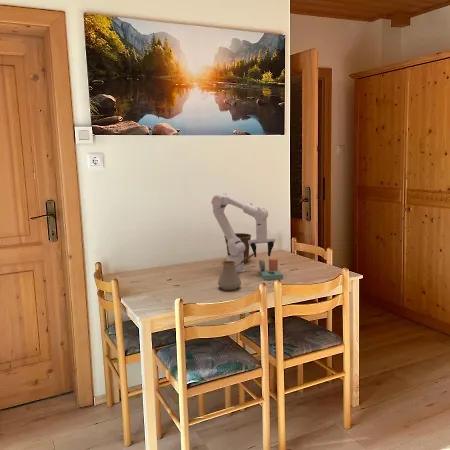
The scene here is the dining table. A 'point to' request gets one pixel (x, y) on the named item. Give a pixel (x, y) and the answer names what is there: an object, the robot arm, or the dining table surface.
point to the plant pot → (244, 239)
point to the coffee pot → (230, 275)
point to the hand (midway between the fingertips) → (262, 256)
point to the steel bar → (261, 266)
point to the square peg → (273, 264)
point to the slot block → (271, 275)
